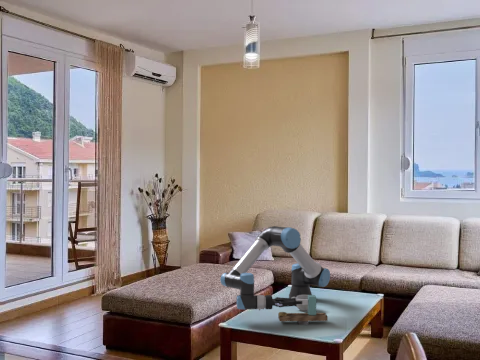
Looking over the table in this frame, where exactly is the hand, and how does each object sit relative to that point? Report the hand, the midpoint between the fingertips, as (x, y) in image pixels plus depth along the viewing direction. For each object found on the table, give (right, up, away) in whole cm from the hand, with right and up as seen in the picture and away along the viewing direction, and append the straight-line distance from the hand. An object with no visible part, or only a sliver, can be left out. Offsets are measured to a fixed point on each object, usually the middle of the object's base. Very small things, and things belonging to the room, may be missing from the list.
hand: (307, 302), depth 288 cm
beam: (-3, -11, 0) cm, 12 cm away
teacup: (0, -11, +27) cm, 29 cm away
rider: (+2, -8, 0) cm, 9 cm away
